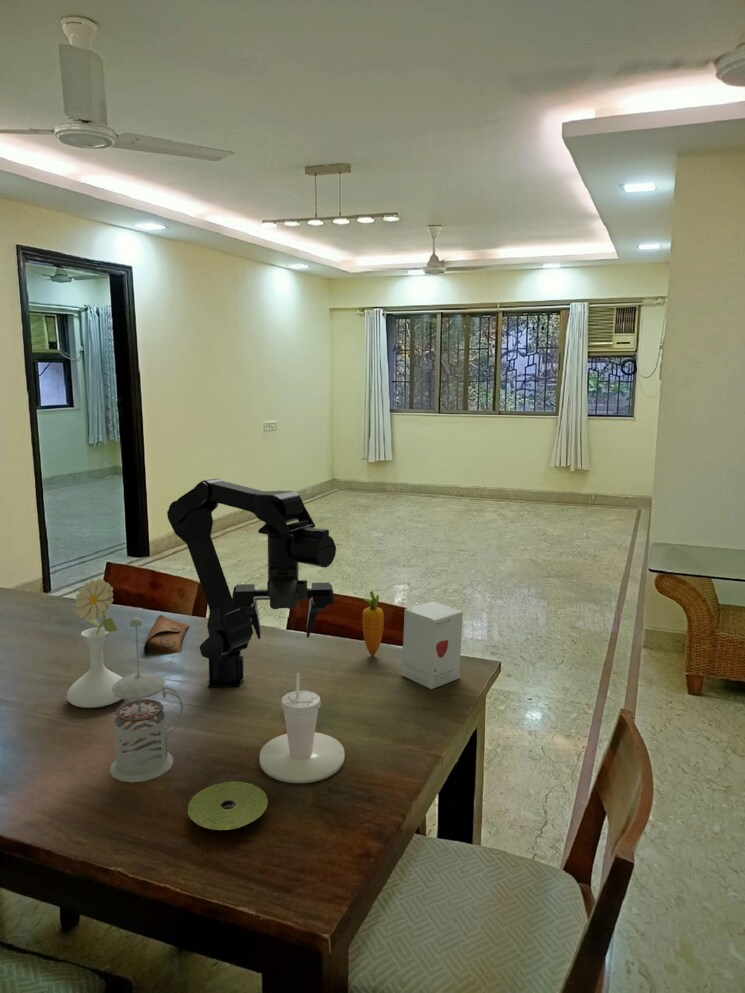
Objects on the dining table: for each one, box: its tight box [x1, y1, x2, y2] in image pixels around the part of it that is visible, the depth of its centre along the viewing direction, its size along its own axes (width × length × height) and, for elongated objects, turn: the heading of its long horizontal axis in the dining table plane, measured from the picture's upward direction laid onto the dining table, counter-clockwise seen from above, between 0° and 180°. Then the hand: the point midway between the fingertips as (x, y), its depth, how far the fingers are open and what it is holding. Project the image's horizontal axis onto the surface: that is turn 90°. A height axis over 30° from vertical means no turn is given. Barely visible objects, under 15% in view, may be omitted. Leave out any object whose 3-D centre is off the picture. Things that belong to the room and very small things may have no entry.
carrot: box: [361, 590, 385, 657], centre depth 155 cm, size 5×5×15 cm
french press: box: [109, 616, 185, 783], centre depth 110 cm, size 10×12×25 cm
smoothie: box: [280, 672, 321, 759], centre depth 113 cm, size 6×6×14 cm
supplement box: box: [401, 601, 464, 690], centre depth 145 cm, size 9×9×15 cm
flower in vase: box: [65, 578, 123, 709], centre depth 131 cm, size 13×11×25 cm
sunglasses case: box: [143, 614, 191, 656], centre depth 164 cm, size 18×7×7 cm, turn 9°
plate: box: [259, 731, 346, 784], centre depth 114 cm, size 14×14×1 cm
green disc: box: [187, 780, 268, 831], centre depth 99 cm, size 11×11×2 cm
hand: (283, 637), depth 132 cm, fingers open, 9 cm apart
